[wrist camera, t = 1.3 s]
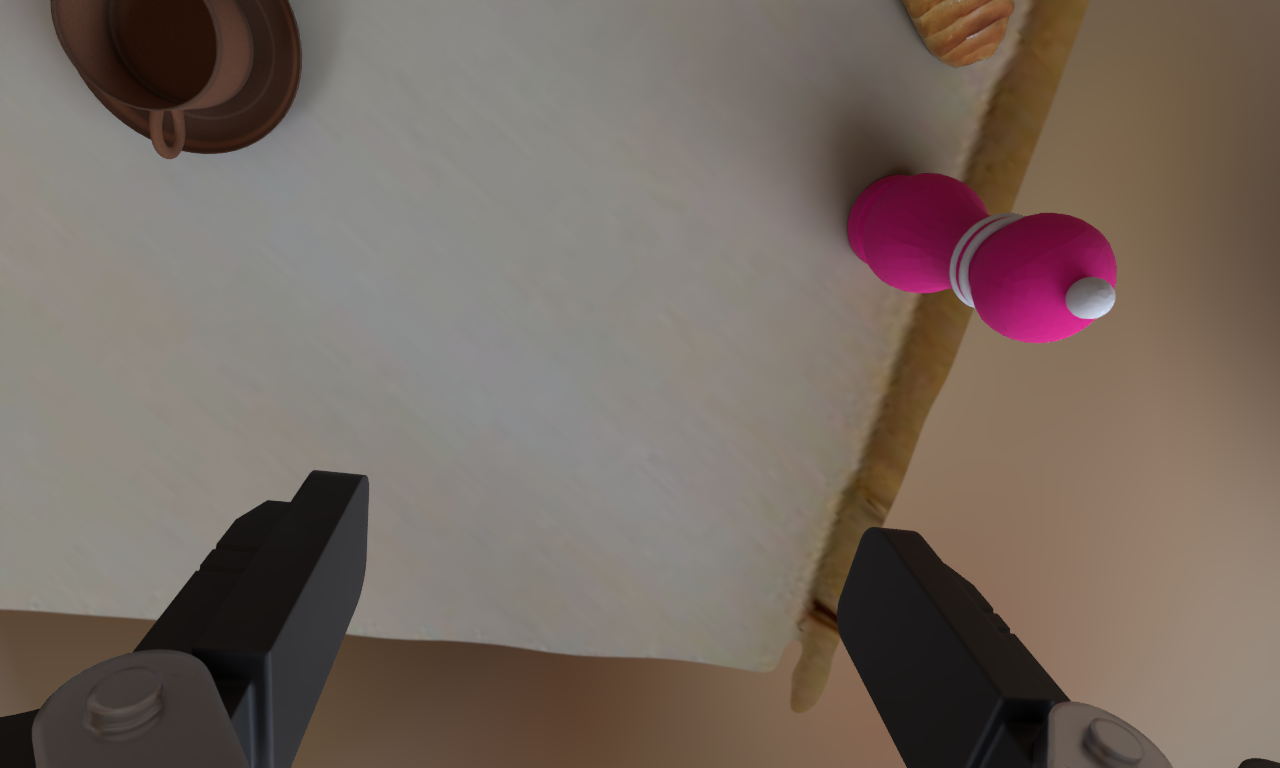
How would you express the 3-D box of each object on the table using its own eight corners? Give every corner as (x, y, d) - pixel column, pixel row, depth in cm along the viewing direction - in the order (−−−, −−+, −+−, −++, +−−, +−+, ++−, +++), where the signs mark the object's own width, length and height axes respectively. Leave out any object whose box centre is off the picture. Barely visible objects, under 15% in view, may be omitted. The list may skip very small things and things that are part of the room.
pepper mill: (867, 294, 48) (1053, 414, 30) (821, 207, 46) (995, 282, 27) (958, 235, 47) (1208, 323, 29) (916, 144, 45) (1164, 177, 26)
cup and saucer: (340, 134, 41) (304, 140, 35) (138, 166, 40) (68, 177, 35) (268, -105, 36) (213, -142, 30) (38, -71, 36) (-62, -103, 30)
